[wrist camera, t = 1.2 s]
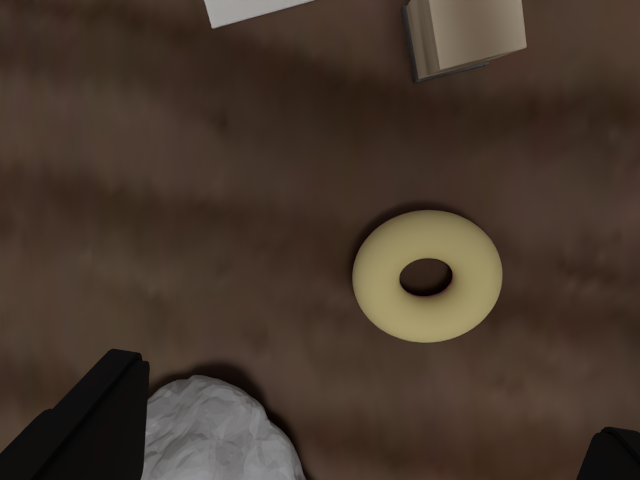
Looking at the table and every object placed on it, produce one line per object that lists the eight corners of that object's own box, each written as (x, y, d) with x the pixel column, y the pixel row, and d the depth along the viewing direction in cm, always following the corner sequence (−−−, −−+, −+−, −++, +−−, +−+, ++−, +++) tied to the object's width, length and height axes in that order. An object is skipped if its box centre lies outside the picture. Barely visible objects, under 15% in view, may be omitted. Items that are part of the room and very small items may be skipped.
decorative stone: (94, 439, 34) (96, 499, 25) (193, 341, 38) (226, 364, 29) (242, 565, 38) (288, 654, 30) (317, 467, 42) (377, 520, 33)
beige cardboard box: (473, -11, 27) (518, -53, 20) (484, 65, 28) (530, 50, 22) (401, 9, 28) (421, -26, 21) (414, 83, 29) (437, 73, 22)
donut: (466, 316, 35) (495, 205, 32) (493, 354, 31) (530, 231, 27) (341, 315, 34) (356, 198, 30) (352, 354, 30) (371, 225, 26)
